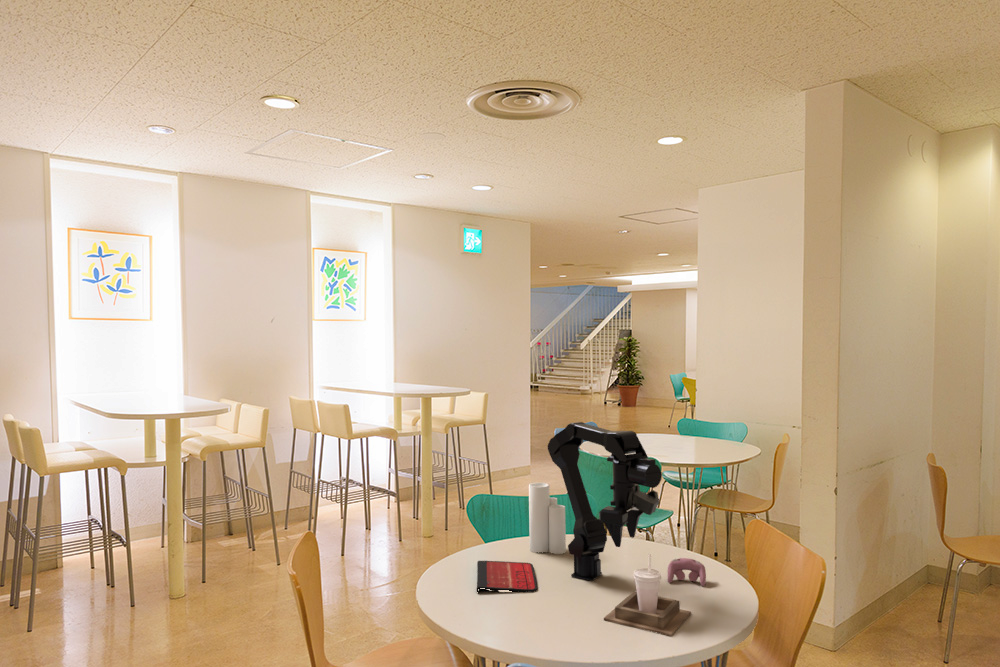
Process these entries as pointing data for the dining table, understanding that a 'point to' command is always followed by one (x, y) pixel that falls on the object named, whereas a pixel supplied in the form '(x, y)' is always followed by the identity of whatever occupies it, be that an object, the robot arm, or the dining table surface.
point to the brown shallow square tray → (649, 615)
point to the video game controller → (686, 564)
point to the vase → (545, 521)
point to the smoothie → (647, 587)
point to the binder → (506, 576)
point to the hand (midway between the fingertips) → (625, 541)
